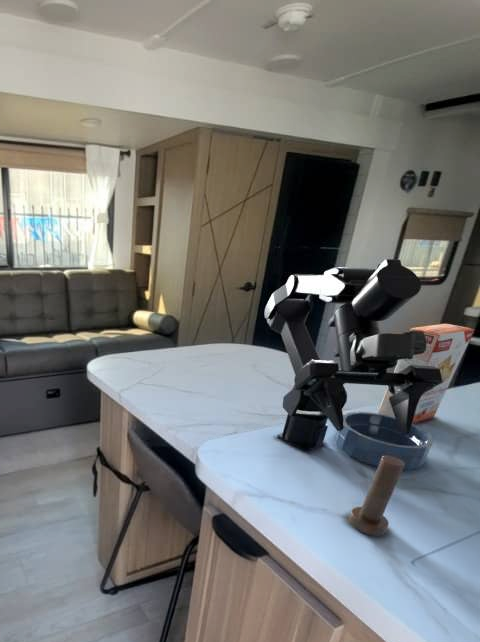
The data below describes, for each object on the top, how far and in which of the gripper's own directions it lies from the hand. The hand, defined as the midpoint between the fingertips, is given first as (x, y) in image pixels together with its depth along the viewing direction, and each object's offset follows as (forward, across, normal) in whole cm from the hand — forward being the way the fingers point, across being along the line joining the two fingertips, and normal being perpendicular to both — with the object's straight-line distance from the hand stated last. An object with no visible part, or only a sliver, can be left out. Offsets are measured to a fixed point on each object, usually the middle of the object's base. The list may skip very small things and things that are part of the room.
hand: (373, 432), depth 58 cm
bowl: (-3, +14, +21) cm, 25 cm away
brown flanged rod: (+13, 0, +5) cm, 14 cm away
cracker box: (-15, +29, +33) cm, 46 cm away
